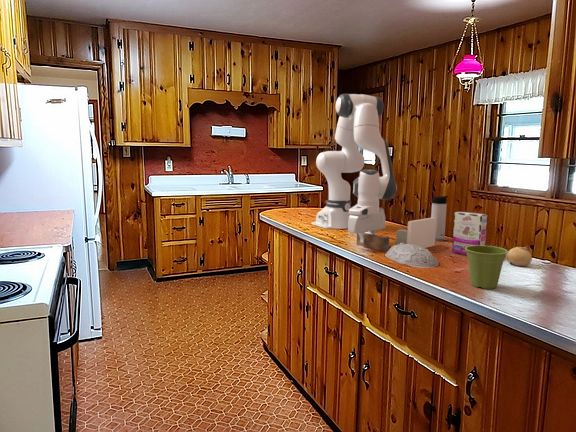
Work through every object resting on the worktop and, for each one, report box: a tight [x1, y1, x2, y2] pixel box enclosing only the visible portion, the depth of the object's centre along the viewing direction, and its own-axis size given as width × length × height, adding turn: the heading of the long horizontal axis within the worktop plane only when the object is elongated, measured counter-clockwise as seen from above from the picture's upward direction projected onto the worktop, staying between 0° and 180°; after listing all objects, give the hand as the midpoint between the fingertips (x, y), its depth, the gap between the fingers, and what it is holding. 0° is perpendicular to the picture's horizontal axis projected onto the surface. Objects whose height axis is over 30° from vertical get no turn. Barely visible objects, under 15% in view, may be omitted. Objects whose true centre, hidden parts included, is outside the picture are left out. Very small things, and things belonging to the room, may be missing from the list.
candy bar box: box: [451, 211, 488, 257], centre depth 171 cm, size 11×5×16 cm, turn 40°
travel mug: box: [430, 195, 449, 242], centre depth 198 cm, size 6×7×20 cm
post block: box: [395, 217, 437, 249], centre depth 184 cm, size 9×18×12 cm, turn 130°
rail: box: [356, 232, 390, 252], centre depth 183 cm, size 14×4×5 cm, turn 40°
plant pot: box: [465, 245, 509, 290], centre depth 132 cm, size 12×12×11 cm
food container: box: [385, 243, 440, 269], centre depth 164 cm, size 16×25×7 cm, turn 25°
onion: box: [505, 246, 533, 267], centre depth 157 cm, size 8×8×7 cm
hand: (366, 241), depth 185 cm, fingers closed on rail, 4 cm apart
